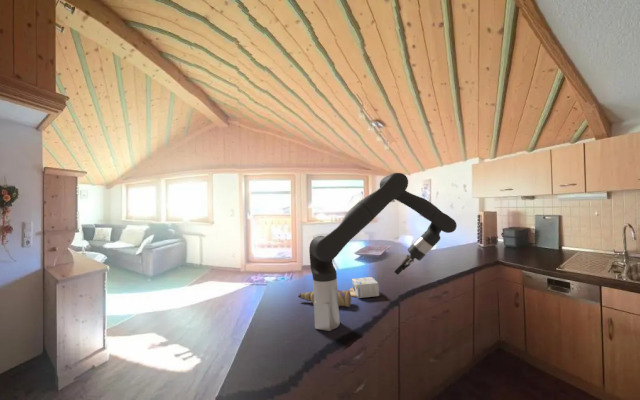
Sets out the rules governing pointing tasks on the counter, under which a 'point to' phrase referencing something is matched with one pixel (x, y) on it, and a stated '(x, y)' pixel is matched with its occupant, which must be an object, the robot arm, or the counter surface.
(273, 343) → the counter surface
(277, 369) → the counter surface
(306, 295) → the decorative bottle
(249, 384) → the counter surface
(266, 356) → the counter surface
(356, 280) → the light bulb box
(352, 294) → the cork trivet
